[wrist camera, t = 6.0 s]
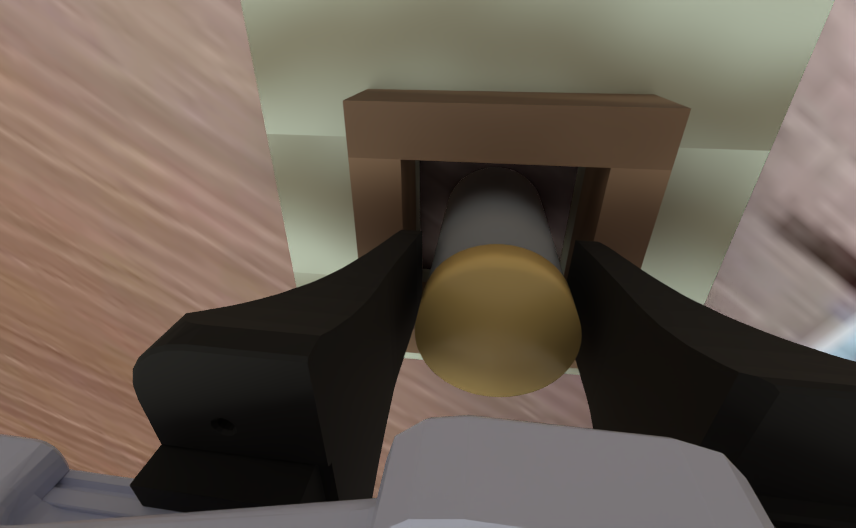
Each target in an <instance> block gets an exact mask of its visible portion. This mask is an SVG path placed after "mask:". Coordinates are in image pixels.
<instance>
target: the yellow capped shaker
mask: <svg viewBox="0 0 856 528" xmlns="http://www.w3.org/2000/svg"><path fill="white" fill-rule="evenodd" d="M581 339H582V331H581V324H580V320H579V316H578V313H577V310H576V307H575V304H574V300H573V297H572V294H571V291H570V288H569V286H568V283H567V281H566V280H565V278H564V275H563V272H562V269H561V265H560V262H559V259H558V255H557V252H556V249H555V245H554V242H553V239H552V236H551V232H550V229H549V226H548V222H547V219H546V216H545V212H544V209H543V206H542V202H541V199H540V196H539V194H538V192H537V190H536V188H535V187H534V185H533V184H532V183H531V182H530V181H529V180H528V179H527V178H526V177H525V176H523V175H522V174H520V173H518V172H516V171H514V170H511V169H507V168H501V167H489V168H483V169H480V170H477V171H475V172H472V173H470V174H469V175H467V176H466V177H464V178H463V179H462V180H461V181H460V182H459V183H458V184H457V185H456V186H455V188H454V189H453V191H452V193H451V194H450V197H449V199H448V203H447V207H446V211H445V215H444V219H443V223H442V227H441V231H440V235H439V239H438V243H437V247H436V251H435V255H434V259H433V263H432V267H431V271H430V275H429V279H428V281H427V283H426V285H425V288H424V291H423V295H422V298H421V302H420V306H419V310H418V314H417V318H416V323H415V340H416V344H417V347H418V350H419V352H420V354H421V357H422V358H423V360H424V361H425V363H426V364H427V365H428V366H429V368H430V369H431V370H432V371H433V372H434V373H435V374H436V375H437V376H439V377H440V378H441V379H443V380H444V381H446V382H447V383H449V384H451V385H453V386H455V387H457V388H459V389H461V390H464V391H467V392H470V393H474V394H478V395H483V396H491V397H510V396H518V395H523V394H527V393H531V392H534V391H537V390H539V389H541V388H544V387H546V386H548V385H549V384H551V383H553V382H554V381H556V380H557V379H558V378H560V377H561V376H562V375H563V374H564V373H565V372H566V371H567V370H568V369H569V368H570V366H571V365H572V364H573V362H574V360H575V358H576V357H577V355H578V352H579V349H580V346H581Z"/></svg>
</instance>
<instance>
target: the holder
mask: <svg viewBox="0 0 856 528" xmlns="http://www.w3.org/2000/svg"><path fill="white" fill-rule="evenodd" d="M834 1H835V0H241V5H242V11H243V16H244V21H245V26H246V31H247V36H248V41H249V46H250V51H251V57H252V62H253V67H254V72H255V77H256V82H257V87H258V92H259V97H260V103H261V108H262V113H263V118H264V123H265V128H266V133H267V138H268V144H269V149H270V154H271V159H272V164H273V169H274V174H275V179H276V184H277V190H278V195H279V200H280V205H281V210H282V215H283V220H284V225H285V230H286V236H287V241H288V246H289V251H290V256H291V261H292V266H293V271H294V276H295V282H296V287H300V286H303V285H305V284H308V283H311V282H313V281H316V280H318V279H320V278H323V277H325V276H327V275H329V274H331V273H333V272H335V271H337V270H339V269H341V268H343V267H345V266H346V265H348V264H350V263H351V262H353V261H355V260H356V259H358V258H360V257H361V256H363V255H365V254H366V253H368V252H369V251H371V250H372V249H374V248H375V247H377V246H378V245H380V244H381V243H383V242H384V241H385V240H387V239H388V238H390V237H391V236H393V235H394V234H395V233H397V232H398V231H400V230H414V231H420V160H425V161H450V162H475V163H500V164H525V165H551V166H576V167H578V171H577V176H576V181H575V187H574V192H573V197H572V202H571V207H570V212H569V217H568V223H567V228H566V233H565V238H564V243H563V248H562V253H561V259H560V265H561V269H562V272H563V275H564V278H565V280H566V281H567V277H568V273H569V268H570V263H571V258H572V254H573V249H574V244H575V240H580V241H596V242H600V243H602V244H604V245H606V246H607V247H609V248H610V249H612V250H614V251H615V252H617V253H618V254H620V255H621V256H622V257H624V258H625V259H627V260H628V261H630V262H631V263H633V264H634V265H636V266H637V267H639V268H640V269H642V270H643V271H645V272H646V273H648V274H649V275H651V276H652V277H654V278H656V279H657V280H659V281H660V282H662V283H664V284H665V285H667V286H669V287H671V288H672V289H674V290H676V291H677V292H679V293H681V294H683V295H684V296H686V297H688V298H690V299H692V300H694V301H696V302H698V303H700V304H702V305H704V303H705V301H706V299H707V296H708V294H709V292H710V289H711V287H712V285H713V282H714V280H715V278H716V275H717V273H718V271H719V268H720V266H721V264H722V261H723V259H724V257H725V254H726V252H727V250H728V247H729V245H730V243H731V240H732V238H733V236H734V233H735V231H736V229H737V227H738V224H739V222H740V220H741V217H742V215H743V213H744V210H745V208H746V206H747V203H748V201H749V199H750V196H751V194H752V192H753V189H754V187H755V185H756V182H757V180H758V178H759V175H760V173H761V171H762V168H763V166H764V164H765V161H766V159H767V157H768V154H769V152H770V150H771V147H772V145H773V143H774V141H775V138H776V136H777V134H778V131H779V129H780V127H781V124H782V122H783V120H784V117H785V115H786V113H787V110H788V108H789V106H790V103H791V101H792V99H793V96H794V94H795V92H796V89H797V87H798V85H799V82H800V80H801V78H802V75H803V73H804V71H805V68H806V66H807V64H808V61H809V59H810V57H811V55H812V52H813V50H814V48H815V45H816V43H817V41H818V38H819V36H820V34H821V31H822V29H823V27H824V24H825V22H826V20H827V17H828V15H829V13H830V10H831V8H832V6H833V3H834ZM430 271H431V269H422V295H423V291H424V288H425V285H426V283H427V281H428V279H429V275H430ZM422 295H421V298H422ZM420 302H421V301H420ZM404 358H411V359H421V360H423V358H422V357H421V354H420V352H419V350H418V347H417V344H416V340H415V326H414V329H413V332H412V335H411V338H410V341H409V344H408V347H407V350H406V353H405V356H404ZM565 374H575V375H580V373H579V370H578V367H577V363H576V360H574V362H573V364H572V365H571V366H570V368H569V369H568V370H567V371H566V372H565Z"/></svg>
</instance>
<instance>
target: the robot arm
mask: <svg viewBox="0 0 856 528" xmlns="http://www.w3.org/2000/svg"><path fill="white" fill-rule="evenodd" d="M567 283H568V286H569V288H570V291H571V294H572V297H573V300H574V304H575V307H576V310H577V313H578V316H579V320H580V324H581V331H582V339H581V346H580V349H579V352H578V355H577V357H576V358H575V360H576V363H577V367H578V370H579V373H580V376H581V380H582V383H583V386H584V390H585V393H586V396H587V400H588V404H589V409H590V413H591V419H592V424H593V429H589V428H580V427H571V426H562V425H553V424H545V423H536V422H527V421H518V420H509V419H500V418H491V417H482V416H473V415H463V416H448V417H433V418H428V419H425V420H423V421H421V422H419V423H418V424H416V425H414V426H412V427H411V428H409V429H407V430H405V431H403V432H402V433H400V434H398V435H396V436H395V438H394V441H393V443H392V446H391V449H390V452H389V454H388V457H387V460H386V464H385V468H384V472H383V476H382V480H381V485H380V489H379V493H378V497H377V498H372V496H373V491H374V485H375V480H376V475H377V469H378V464H379V459H380V454H381V449H382V444H383V439H384V434H385V429H386V424H387V419H388V415H389V410H390V405H391V401H392V396H393V391H394V387H395V384H396V380H397V377H398V374H399V371H400V368H401V365H402V362H403V359H404V356H405V353H406V350H407V347H408V344H409V341H410V338H411V335H412V332H413V329H414V326H415V323H416V318H417V314H418V310H419V306H420V301H421V295H422V231H414V230H400V231H398V232H397V233H395V234H394V235H393V236H391V237H390V238H388V239H387V240H385V241H384V242H383V243H381V244H380V245H378V246H377V247H375V248H374V249H372V250H371V251H369V252H368V253H366V254H365V255H363V256H361V257H360V258H358V259H356V260H355V261H353V262H351V263H350V264H348V265H346V266H345V267H343V268H341V269H339V270H337V271H335V272H333V273H331V274H329V275H327V276H325V277H323V278H320V279H318V280H316V281H313V282H311V283H308V284H305V285H303V286H300V287H297V288H294V289H291V290H289V291H286V292H283V293H280V294H277V295H273V296H270V297H266V298H262V299H258V300H254V301H250V302H246V303H242V304H237V305H233V306H227V307H221V308H216V309H210V310H204V311H199V312H192V313H186V314H185V315H184V316H183V317H182V318H181V319H180V320H179V321H177V322H176V323H175V324H174V325H173V326H172V327H171V328H170V329H169V330H168V331H167V332H166V333H165V334H163V335H162V336H161V337H160V338H159V339H158V340H157V341H156V342H155V343H154V344H153V345H152V346H151V347H150V348H148V349H147V350H146V351H145V352H144V353H143V354H142V355H141V356H140V357H139V358H138V360H137V362H136V364H135V366H134V368H133V386H134V389H135V392H136V395H137V397H138V400H139V402H140V404H141V406H142V408H143V410H144V412H145V414H146V415H147V417H148V419H149V421H150V423H151V425H152V427H153V429H154V431H155V433H156V435H157V436H158V438H159V440H160V442H161V444H162V445H161V446H160V447H159V449H158V450H157V451H156V452H155V454H154V455H153V456H152V457H151V459H150V460H149V461H148V462H147V464H146V465H145V466H144V467H143V469H142V470H141V471H140V472H139V474H138V475H137V476H136V477H135V479H133V478H126V477H119V476H112V475H105V474H98V473H92V472H85V471H78V470H71V469H69V466H68V463H67V461H66V460H65V458H64V456H63V455H62V454H61V452H60V451H59V450H57V449H56V448H55V447H54V446H52V445H51V444H49V443H47V442H45V441H42V440H38V439H33V438H26V437H18V436H11V435H4V434H0V528H856V362H855V361H851V360H847V359H844V358H840V357H837V356H834V355H830V354H827V353H824V352H821V351H818V350H815V349H812V348H809V347H806V346H803V345H800V344H797V343H794V342H791V341H788V340H785V339H782V338H780V337H777V336H774V335H771V334H769V333H766V332H764V331H761V330H759V329H756V328H754V327H751V326H749V325H746V324H744V323H741V322H739V321H736V320H734V319H732V318H729V317H727V316H725V315H723V314H720V313H718V312H716V311H714V310H712V309H710V308H708V307H706V306H704V305H702V304H700V303H698V302H696V301H694V300H692V299H690V298H688V297H686V296H684V295H683V294H681V293H679V292H677V291H676V290H674V289H672V288H671V287H669V286H667V285H665V284H664V283H662V282H660V281H659V280H657V279H656V278H654V277H652V276H651V275H649V274H648V273H646V272H645V271H643V270H642V269H640V268H639V267H637V266H636V265H634V264H633V263H631V262H630V261H628V260H627V259H625V258H624V257H622V256H621V255H620V254H618V253H617V252H615V251H614V250H612V249H610V248H609V247H607V246H606V245H604V244H602V243H600V242H596V241H580V240H575V244H574V249H573V254H572V258H571V263H570V268H569V273H568V277H567Z"/></svg>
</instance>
